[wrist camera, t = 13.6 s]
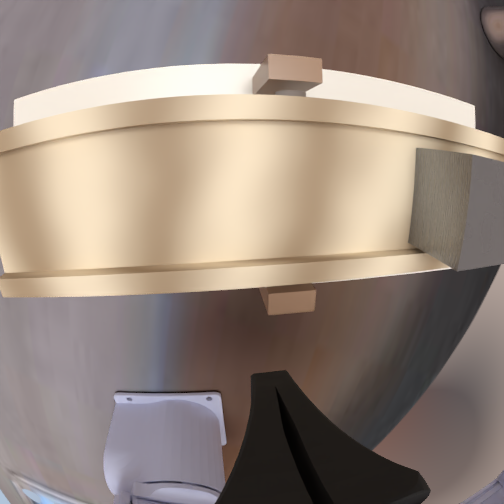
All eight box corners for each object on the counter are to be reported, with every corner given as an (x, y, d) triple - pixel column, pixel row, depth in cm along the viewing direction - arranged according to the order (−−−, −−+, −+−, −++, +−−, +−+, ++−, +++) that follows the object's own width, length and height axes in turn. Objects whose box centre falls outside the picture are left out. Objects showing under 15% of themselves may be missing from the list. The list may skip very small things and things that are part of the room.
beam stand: (44, 289, 19) (6, 331, 13) (21, 100, 14) (-31, 94, 9) (453, 263, 23) (497, 291, 18) (466, 106, 18) (519, 106, 13)
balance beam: (27, 284, 14) (5, 305, 12) (5, 128, 11) (-24, 128, 9) (474, 253, 18) (499, 266, 16) (487, 132, 15) (515, 135, 13)
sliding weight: (407, 242, 15) (457, 271, 11) (415, 147, 13) (472, 154, 9) (466, 239, 15) (512, 262, 12) (475, 158, 14) (526, 168, 10)
